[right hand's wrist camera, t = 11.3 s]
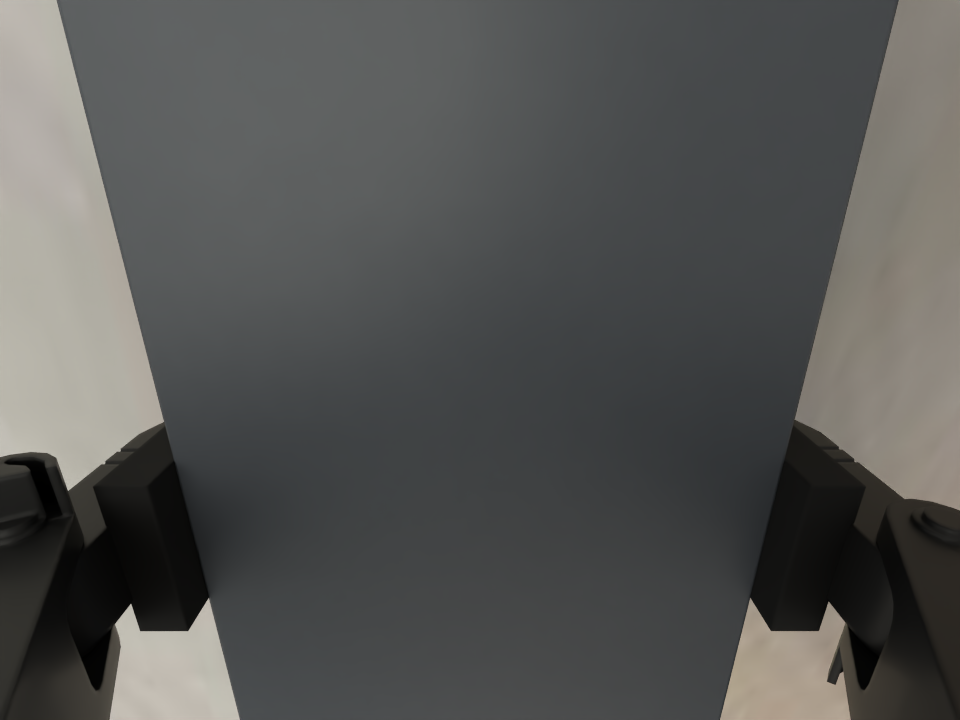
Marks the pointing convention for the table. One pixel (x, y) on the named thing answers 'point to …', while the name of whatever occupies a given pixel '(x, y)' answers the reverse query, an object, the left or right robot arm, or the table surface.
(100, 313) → the table surface
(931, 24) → the table surface
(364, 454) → the thick board
